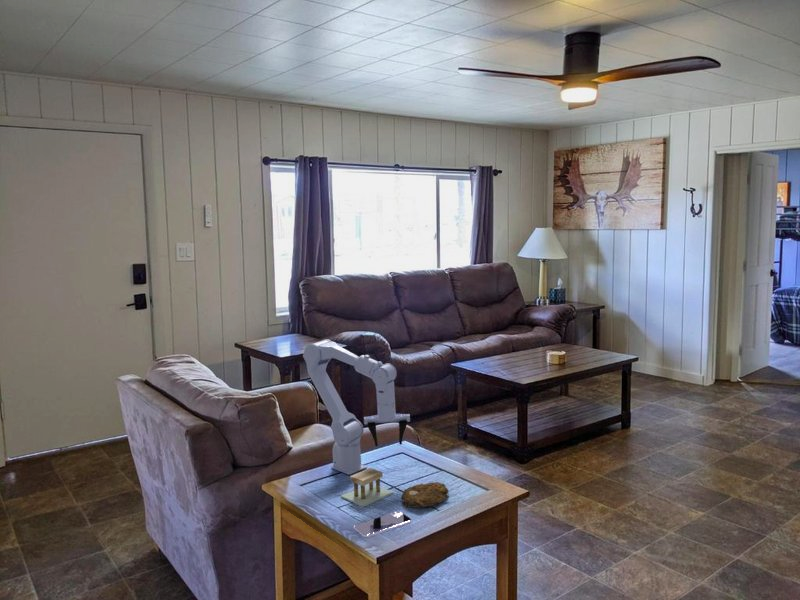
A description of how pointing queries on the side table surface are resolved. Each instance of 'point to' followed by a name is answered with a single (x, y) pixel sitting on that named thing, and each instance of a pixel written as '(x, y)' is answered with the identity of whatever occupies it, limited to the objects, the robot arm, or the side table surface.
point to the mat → (367, 495)
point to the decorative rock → (424, 495)
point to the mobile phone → (382, 524)
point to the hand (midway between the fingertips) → (388, 444)
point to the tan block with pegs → (366, 480)
